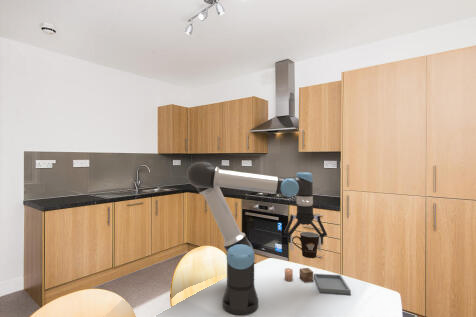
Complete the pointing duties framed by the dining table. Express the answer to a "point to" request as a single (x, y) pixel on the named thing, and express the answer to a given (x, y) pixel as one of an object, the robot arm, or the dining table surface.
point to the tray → (331, 284)
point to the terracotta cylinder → (288, 274)
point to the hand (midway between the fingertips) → (305, 250)
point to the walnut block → (306, 275)
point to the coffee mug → (308, 244)
